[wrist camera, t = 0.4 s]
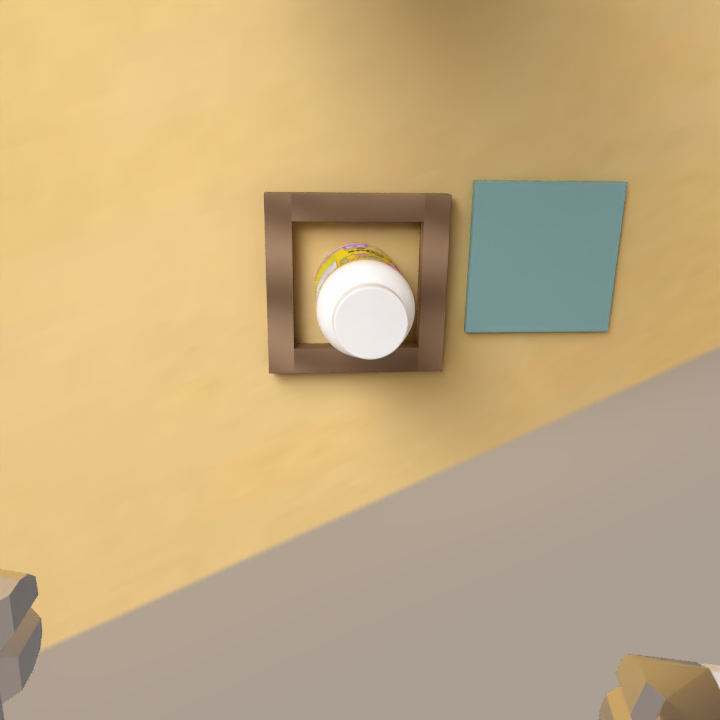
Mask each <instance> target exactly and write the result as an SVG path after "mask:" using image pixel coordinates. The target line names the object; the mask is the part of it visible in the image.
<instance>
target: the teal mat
mask: <svg viewBox="0 0 720 720" xmlns="http://www.w3.org/2000/svg"><path fill="white" fill-rule="evenodd" d="M626 188H627V182H576V181H476V180H474V183H473V199H472V215H471V230H470V246H469V262H468V277H467V293H466V308H465V324H464V331H465V332H577V331H608V324H609V316H610V309H611V301H612V294H613V286H614V279H615V271H616V263H617V256H618V248H619V241H620V233H621V226H622V218H623V210H624V203H625V195H626Z"/></svg>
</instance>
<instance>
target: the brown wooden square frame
mask: <svg viewBox="0 0 720 720" xmlns="http://www.w3.org/2000/svg"><path fill="white" fill-rule="evenodd" d="M450 213H451V195H450V194H437V193H317V192H265V193H264V214H265V248H266V282H267V317H268V351H269V373H338V372H411V371H442V360H443V342H444V324H445V305H446V287H447V269H448V250H449V232H450ZM292 221H336V222H421V226H420V250H419V275H418V299H417V323H416V343H401V344H400V346H399V347H398V348H397V349H396V350H395V351H393V352H392V353H390V354H389V355H387V356H385V357H382V358H379V359H362V358H358V357H353V356H349V355H347V354H344V353H342V352H341V351H339V350H337V349H336V348H335V347H334V346H332V345H331V344H330V343H328V344H294V309H293V250H292Z"/></svg>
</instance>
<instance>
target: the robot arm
mask: <svg viewBox="0 0 720 720" xmlns="http://www.w3.org/2000/svg"><path fill="white" fill-rule="evenodd" d="M37 596H38V589H37V583H36V577H35V576H33V575H30V574H26V573H20V572H14V571H7V570H1V569H0V720H4V714H3V707H2V703H4V702H5V701H7V700H8V699H10V698H11V697H13V696H14V695H16V694H17V693H19V692H20V691H22V690H23V688H24V686H25V684H26V682H27V680H28V678H29V677H30V675H31V673H32V671H33V668H34V665H35V662H36V659H37V656H38V653H39V650H40V646H41V638H42V624H41V618H40V617H39V616H38V614H37V613H36V612H35V611H34V610H33V609H32V608H31V606H32V604H33V602H34V601H35V599H36V597H37ZM616 674H617V677H618V680H619V683H620V686H619V687H617V688H615V689H614V690H612V691H611V692H609V693H607V694H606V696H605V698H604V701H603V704H602V706H601V709H600V714H599V720H720V666H719V665H711V664H703V663H702V664H699V663H697V662H690V661H682V660H674V659H666V658H658V657H650V656H641V655H632V654H628V655H627V656H626V657H625V658H623V659H622V660H621V662H620V664H619V666H618V668H617V671H616Z"/></svg>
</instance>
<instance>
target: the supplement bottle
mask: <svg viewBox="0 0 720 720" xmlns="http://www.w3.org/2000/svg"><path fill="white" fill-rule="evenodd" d="M315 296H316V312H317V319H318V323H319V326H320V329H321V331H322V333H323V335H324V336H325V338H326V339H327V340H328V342H329V343H330V344H331V345H332V346H334V347H335V348H336V349H337V350H339V351H341V352H342V353H344V354H347V355H349V356H353V357H358V358H362V359H379V358H382V357H385V356H387V355H389V354H390V353H392V352H393V351H395V350H396V349H397V348H398V347H399V346H400V344H401V343H402V342H403V340H404V339H405V338H406V336H407V335H408V333H409V331H410V329H411V327H412V324H413V321H414V316H415V302H414V297H413V293H412V291H411V289H410V286H409V285H408V283H407V281H406V280H405V279H404V277H403V276H402V275H401V273H400V272H399V270H398V269H397V267H396V266H395V265H394V263H393V262H392V260H391V259H390V258H389V257H388V256H387V255H386V254H385V253H384V252H382V251H381V250H380V249H378V248H376V247H374V246H371V245H368V244H362V243H353V244H348V245H344V246H341V247H339V248H337V249H335V250H334V251H332V252H331V253H330V254H329V255H328V256H327V257H326V258H325V259H324V260H323V262H322V263H321V265H320V267H319V269H318V272H317V275H316V280H315Z"/></svg>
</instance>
